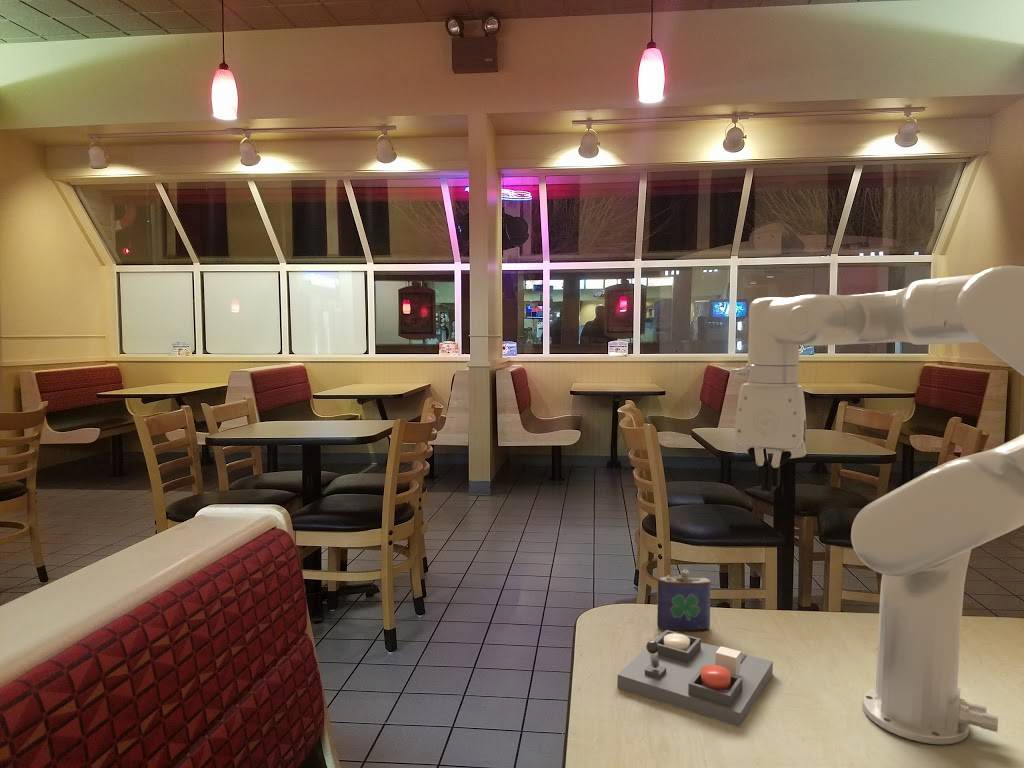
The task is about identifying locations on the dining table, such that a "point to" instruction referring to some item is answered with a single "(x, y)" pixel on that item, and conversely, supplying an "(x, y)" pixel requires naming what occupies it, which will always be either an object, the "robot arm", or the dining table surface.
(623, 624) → the dining table surface
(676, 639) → the ivory button
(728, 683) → the red button
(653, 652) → the toggle lever
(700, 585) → the flask
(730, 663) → the beige cube
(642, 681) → the panel
